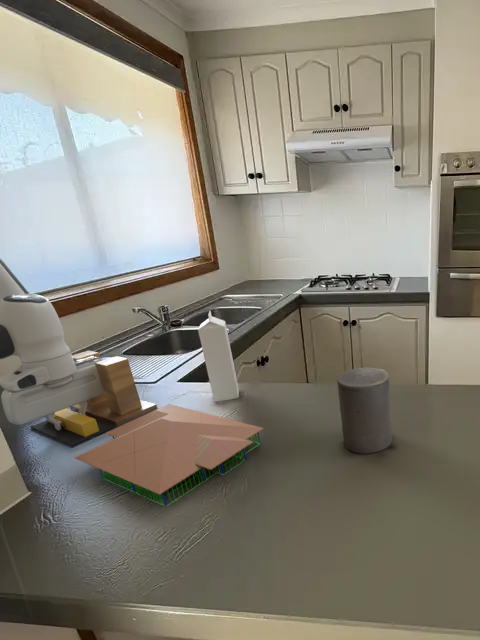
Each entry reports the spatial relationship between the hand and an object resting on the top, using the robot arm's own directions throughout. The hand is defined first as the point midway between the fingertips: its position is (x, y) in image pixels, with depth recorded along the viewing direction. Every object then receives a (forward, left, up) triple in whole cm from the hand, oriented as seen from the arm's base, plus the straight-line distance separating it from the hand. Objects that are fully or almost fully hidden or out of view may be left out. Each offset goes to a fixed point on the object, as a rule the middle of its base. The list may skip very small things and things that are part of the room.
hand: (71, 424), depth 97 cm
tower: (+10, +1, -1) cm, 10 cm away
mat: (0, 0, -1) cm, 1 cm away
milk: (+28, -20, -1) cm, 34 cm away
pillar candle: (+24, -66, -1) cm, 70 cm away
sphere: (+22, +25, -1) cm, 33 cm away
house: (+3, -34, -1) cm, 34 cm away
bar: (0, 0, 0) cm, 0 cm away
